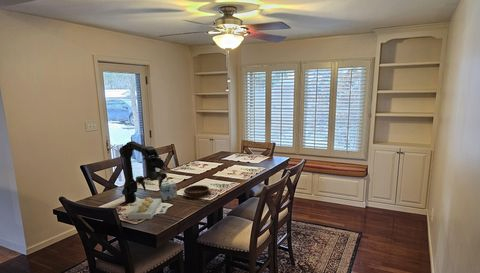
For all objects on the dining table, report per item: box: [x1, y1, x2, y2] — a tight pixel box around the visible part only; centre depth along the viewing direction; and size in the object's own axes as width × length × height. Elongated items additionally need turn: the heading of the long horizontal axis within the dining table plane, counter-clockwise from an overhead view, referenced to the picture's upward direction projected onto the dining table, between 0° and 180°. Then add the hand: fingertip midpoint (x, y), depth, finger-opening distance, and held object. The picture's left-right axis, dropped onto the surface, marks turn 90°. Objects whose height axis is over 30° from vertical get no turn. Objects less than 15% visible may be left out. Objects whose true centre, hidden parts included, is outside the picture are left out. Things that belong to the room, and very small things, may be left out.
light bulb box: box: [159, 180, 178, 201], centre depth 213 cm, size 11×7×11 cm, turn 126°
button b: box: [142, 201, 149, 208], centre depth 191 cm, size 4×4×4 cm
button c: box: [144, 196, 153, 203], centre depth 198 cm, size 4×4×4 cm
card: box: [156, 205, 169, 215], centre depth 191 cm, size 5×12×1 cm, turn 1°
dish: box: [183, 184, 212, 199], centre depth 217 cm, size 18×22×5 cm
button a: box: [138, 205, 146, 212], centre depth 184 cm, size 4×4×4 cm
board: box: [127, 198, 162, 221], centre depth 191 cm, size 14×26×3 cm, turn 1°
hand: (152, 190), depth 191 cm, fingers open, 9 cm apart
